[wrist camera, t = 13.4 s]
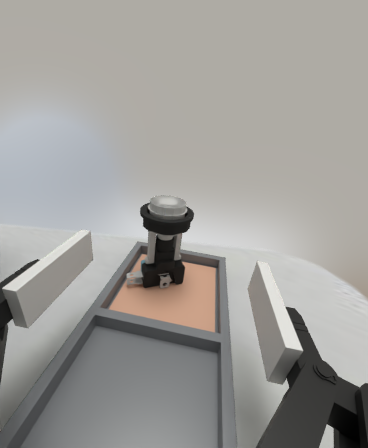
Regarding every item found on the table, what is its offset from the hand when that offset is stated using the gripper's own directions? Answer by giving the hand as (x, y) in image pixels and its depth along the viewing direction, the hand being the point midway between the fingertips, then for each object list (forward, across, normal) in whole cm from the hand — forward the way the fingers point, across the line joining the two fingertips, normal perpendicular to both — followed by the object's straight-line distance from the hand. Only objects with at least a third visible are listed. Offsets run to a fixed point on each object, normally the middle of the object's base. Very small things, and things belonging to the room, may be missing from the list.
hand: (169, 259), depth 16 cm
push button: (+5, -2, -7) cm, 9 cm away
